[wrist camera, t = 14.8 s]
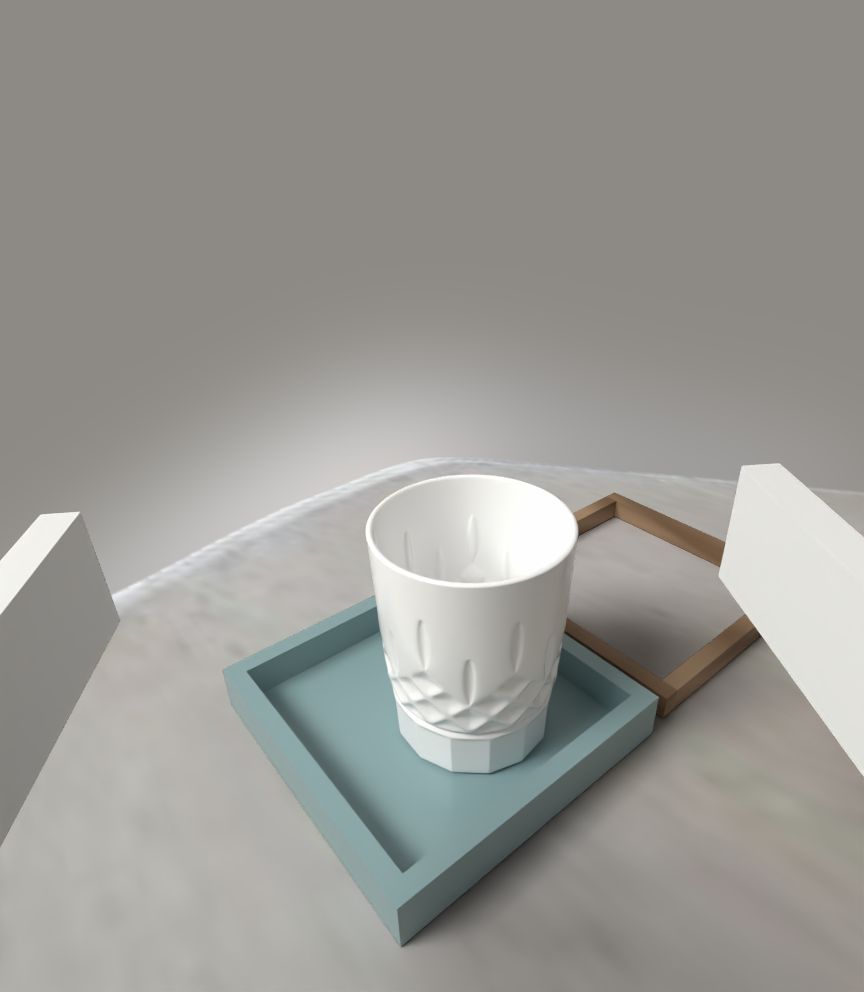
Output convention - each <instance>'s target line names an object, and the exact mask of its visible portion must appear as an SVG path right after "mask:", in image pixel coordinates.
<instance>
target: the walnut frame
mask: <svg viewBox="0 0 864 992" xmlns="http://www.w3.org/2000/svg"><path fill="white" fill-rule="evenodd" d="M573 514H574V516H575V518H576V521H577V524H578V535H580V534H582V533H584V532H586V531H588V530H590V529H591V528H593V527H595V526H597V525H599V524H601V523H603V522H604V521H606V520H608V519H610V518H612V517H614V516H615V517H617V518H620V519H622V520H624V521H626V522H628V523H630V524H632V525H634V526H636V527H638V528H640V529H643V530H645V531H647V532H649V533H651V534H653V535H655V536H657V537H659V538H661V539H663V540H665V541H668V542H670V543H672V544H674V545H676V546H678V547H680V548H682V549H684V550H686V551H688V552H691V553H693V554H695V555H697V556H699V557H701V558H703V559H705V560H707V561H709V562H711V563H714V564H716V565H718V566H720V567H721V562H722V557H723V553H724V548H725V543H726V542H724V541H721V540H719V539H717V538H715V537H712V536H710V535H708V534H706V533H703V532H701V531H699V530H697V529H695V528H692V527H690V526H688V525H686V524H683V523H681V522H679V521H677V520H674V519H672V518H670V517H668V516H666V515H663V514H661V513H659V512H657V511H654V510H652V509H650V508H648V507H645V506H643V505H641V504H639V503H637V502H634V501H632V500H630V499H628V498H625V497H623V496H621V495H619V494H616V493H612V494H610V495H608V496H607V497H605V498H603V499H601V500H599V501H597V502H595V503H593V504H591V505H589V506H587V507H585V508H583V509H581V510H579V511H577V512H575V513H573ZM564 634H566V635H567V636H569V637H570V638H572V639H573V640H575V641H576V642H578V643H579V644H581V645H582V646H584V647H585V648H587V649H588V650H590V651H591V652H593V653H594V654H596V655H597V656H598V657H600V658H601V659H603V660H604V661H606V662H607V663H609V664H610V665H612V666H613V667H615V668H616V669H618V670H619V671H621V672H622V673H624V674H625V675H627V676H628V677H630V678H631V679H633V680H634V681H636V682H637V683H639V684H640V685H642V686H643V687H644V688H646V689H647V690H649V691H650V692H652V693H653V694H655V695H656V696H658V697H659V699H658V704H657V710H656V714H658V715H659V716H661V717H662V718H664V717H665V716H666V715H667V714H668V713H670V712H671V711H672V710H673V709H674V708H676V707H677V706H678V705H679V704H680V703H681V702H683V701H684V700H685V699H686V698H687V697H689V696H690V695H691V694H692V693H693V692H695V691H696V690H697V689H698V688H699V687H700V686H702V685H703V684H704V683H705V682H706V681H708V680H709V679H710V678H711V677H712V676H714V675H715V674H716V673H717V672H718V671H719V670H721V669H722V668H723V667H724V666H725V665H727V664H728V663H729V662H730V661H731V660H733V659H734V658H735V657H736V656H737V655H738V654H740V653H741V652H742V651H743V650H744V649H746V648H747V647H748V646H749V645H750V644H752V643H753V642H754V641H755V640H756V639H757V638H759V637H760V636H761V634H760V633H759V632H758V630H757V629H756V627H755V626H754V625H753V623H752V622H751V621H750V619H749V618H748V616H747V615H746V614H745V615H744V616H742V617H741V618H740V619H739V620H737V621H736V622H735V623H734V624H732V625H731V626H730V627H728V628H727V629H726V630H725V631H723V632H722V633H721V634H720V635H718V636H717V637H716V638H715V639H713V640H712V641H711V642H709V643H708V644H707V645H706V646H704V647H703V648H702V649H701V650H699V651H698V652H697V653H696V654H694V655H693V656H692V657H691V658H689V659H688V660H687V661H685V662H684V663H683V664H682V665H680V666H679V667H678V668H677V669H675V670H674V671H673V672H672V673H670V674H669V675H668V676H666V677H665V678H664V679H663V680H661V679H660V678H658V677H657V676H655V675H654V674H652V673H651V672H649V671H648V670H646V669H644V668H643V667H641V666H640V665H638V664H637V663H635V662H634V661H632V660H631V659H629V658H628V657H626V656H624V655H623V654H621V653H620V652H618V651H617V650H615V649H614V648H612V647H611V646H609V645H608V644H606V643H604V642H603V641H601V640H600V639H598V638H597V637H595V636H594V635H592V634H591V633H589V632H588V631H586V630H584V629H583V628H581V627H580V626H578V625H577V624H575V623H574V622H572V621H571V620H569V619H568V618H567V619H566V626H565V631H564Z"/></svg>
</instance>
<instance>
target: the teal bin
mask: <svg viewBox="0 0 864 992" xmlns="http://www.w3.org/2000/svg"><path fill="white" fill-rule="evenodd" d="M223 674H224V678H225V682H226V686H227V690H228V694H229V698H230V702H231V705H232V706H233V708H234V709H235V711H236V712H237V714H238V715H239V716H240V718H241V719H242V721H243V722H244V724H245V725H246V726H247V728H248V729H249V731H250V732H251V734H252V735H253V736H254V738H255V739H256V741H257V742H258V744H259V745H260V747H261V748H262V749H263V751H264V752H265V754H266V755H267V757H268V758H269V759H270V761H271V762H272V764H273V765H274V767H275V768H276V769H277V771H278V772H279V774H280V775H281V777H282V778H283V779H284V781H285V782H286V784H287V785H288V787H289V788H290V789H291V791H292V792H293V794H294V795H295V797H296V798H297V799H298V801H299V802H300V804H301V805H302V807H303V808H304V809H305V811H306V812H307V814H308V815H309V817H310V818H311V819H312V821H313V822H314V824H315V825H316V827H317V828H318V829H319V831H320V832H321V834H322V835H323V837H324V838H325V839H326V841H327V842H328V844H329V845H330V847H331V848H332V849H333V851H334V852H335V854H336V855H337V857H338V858H339V859H340V861H341V862H342V864H343V865H344V867H345V868H346V869H347V871H348V872H349V874H350V875H351V877H352V878H353V879H354V881H355V882H356V884H357V885H358V887H359V888H360V889H361V891H362V892H363V894H364V895H365V897H366V898H367V899H368V901H369V902H370V904H371V905H372V907H373V908H374V909H375V911H376V912H377V914H378V915H379V917H380V918H381V919H382V921H383V922H384V924H385V925H386V927H387V928H388V930H389V931H390V932H391V934H392V935H393V937H394V938H395V940H396V941H397V942H398V944H399V945H400V947H402V946H403V945H404V944H405V943H406V942H407V941H409V940H410V939H411V938H412V937H413V936H414V935H416V934H417V933H418V932H419V931H420V930H421V929H423V928H424V927H425V926H426V925H427V924H429V923H430V922H431V921H432V920H433V919H434V918H436V917H437V916H438V915H439V914H440V913H441V912H443V911H444V910H445V909H446V908H447V907H449V906H450V905H451V904H452V903H453V902H454V901H456V900H457V899H458V898H459V897H460V896H461V895H463V894H464V893H465V892H466V891H467V890H469V889H470V888H471V887H472V886H473V885H474V884H476V883H477V882H478V881H479V880H480V879H481V878H483V877H484V876H485V875H486V874H487V873H488V872H490V871H491V870H492V869H493V868H494V867H496V866H497V865H498V864H499V863H500V862H501V861H503V860H504V859H505V858H506V857H507V856H508V855H510V854H511V853H512V852H513V851H514V850H516V849H517V848H518V847H519V846H520V845H521V844H523V843H524V842H525V841H526V840H527V839H528V838H530V837H531V836H532V835H533V834H534V833H536V832H537V831H538V830H539V829H540V828H541V827H543V826H544V825H545V824H546V823H547V822H548V821H550V820H551V819H552V818H553V817H554V816H556V815H557V814H558V813H559V812H560V811H561V810H563V809H564V808H565V807H566V806H567V805H568V804H570V803H571V802H572V801H573V800H574V799H575V798H577V797H578V796H579V795H580V794H581V793H583V792H584V791H585V790H586V789H587V788H588V787H590V786H591V785H592V784H593V783H594V782H595V781H597V780H598V779H599V778H600V777H601V776H603V775H604V774H605V773H606V772H607V771H608V770H610V769H611V768H612V767H613V766H614V765H615V764H617V763H618V762H619V761H620V760H621V759H623V758H624V757H625V756H626V755H627V754H628V753H630V752H631V751H632V750H633V749H634V748H635V747H637V746H638V745H639V744H640V743H641V742H642V741H644V740H645V739H646V738H647V737H648V736H650V735H651V734H652V731H653V725H654V720H655V715H656V710H657V704H658V699H659V697H658V696H656V695H655V694H653V693H652V692H650V691H649V690H647V689H646V688H644V687H643V686H642V685H640V684H639V683H637V682H636V681H634V680H633V679H631V678H630V677H628V676H627V675H625V674H624V673H622V672H621V671H619V670H618V669H616V668H615V667H613V666H612V665H610V664H609V663H607V662H606V661H604V660H603V659H601V658H600V657H598V656H597V655H596V654H594V653H593V652H591V651H590V650H588V649H587V648H585V647H584V646H582V645H581V644H579V643H578V642H576V641H575V640H573V639H572V638H570V637H569V636H567V635H566V634H564V635H563V639H562V647H561V655H560V659H559V664H558V670H557V678H556V682H555V684H554V685H553V687H552V692H551V697H550V705H549V711H548V717H547V722H546V727H545V732H544V737H543V739H542V740H541V741H540V742H539V743H538V744H537V745H536V746H535V748H534V749H533V750H532V751H531V752H530V753H529V754H528V755H527V756H526V757H525V758H524V759H523V760H522V761H521V762H518V763H515V764H513V765H510V766H507V767H505V768H502V769H500V770H497V771H494V772H491V773H464V772H451V771H449V770H447V769H444V768H442V767H440V766H438V765H436V764H433V763H431V762H429V761H427V760H425V759H423V758H421V757H419V755H418V754H417V753H416V752H415V750H414V749H413V748H412V747H411V746H410V744H409V743H408V742H407V741H406V740H405V738H404V737H403V736H402V735H401V733H400V729H399V722H398V715H397V708H396V701H395V696H394V692H393V687H392V683H391V681H390V679H389V677H388V671H387V665H386V660H385V655H384V651H383V640H382V636H381V632H380V627H379V621H378V612H377V605H376V598H375V595H374V596H372V597H370V598H368V599H366V600H364V601H362V602H360V603H358V604H356V605H354V606H352V607H350V608H348V609H346V610H344V611H342V612H340V613H337V614H335V615H333V616H331V617H329V618H327V619H325V620H323V621H321V622H319V623H317V624H315V625H313V626H311V627H309V628H307V629H305V630H303V631H301V632H299V633H297V634H295V635H292V636H290V637H288V638H286V639H284V640H282V641H280V642H278V643H276V644H274V645H272V646H270V647H268V648H266V649H264V650H262V651H260V652H258V653H256V654H254V655H252V656H250V657H247V658H245V659H243V660H241V661H239V662H237V663H235V664H233V665H231V666H229V667H227V668H225V669H223Z"/></svg>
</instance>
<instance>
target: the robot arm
mask: <svg viewBox="0 0 864 992" xmlns="http://www.w3.org/2000/svg"><path fill="white" fill-rule="evenodd" d="M719 578H720V579H721V581H722V582H723V583H724V585H725V586H726V587H727V589H728V590H729V592H730V593H731V594H732V596H733V597H734V598H735V600H736V601H737V603H738V604H739V605H740V607H741V608H742V610H743V611H744V612H745V614H746V615H747V616H748V618H749V619H750V621H751V622H752V623H753V625H754V626H755V627H756V629H757V630H758V632H759V633H760V634H761V636H762V637H763V638H764V640H765V641H766V643H767V644H768V645H769V647H770V648H771V650H772V651H773V652H774V654H775V655H776V656H777V658H778V659H779V661H780V662H781V663H782V665H783V666H784V667H785V669H786V670H787V672H788V673H789V674H790V676H791V677H792V678H793V680H794V681H795V683H796V684H797V685H798V687H799V688H800V690H801V691H802V692H803V694H804V695H805V696H806V698H807V699H808V701H809V702H810V703H811V705H812V706H813V707H814V709H815V710H816V712H817V713H818V714H819V716H820V717H821V718H822V720H823V721H824V723H825V724H826V725H827V727H828V728H829V729H830V731H831V732H832V734H833V735H834V736H835V738H836V739H837V741H838V742H839V743H840V745H841V746H842V747H843V749H844V750H845V752H846V753H847V754H848V756H849V757H850V758H851V760H852V761H853V763H854V764H855V765H856V767H857V768H858V769H859V771H860V772H861V774H862V775H863V776H864V537H863V536H861V535H860V534H859V533H858V532H857V531H856V530H855V529H854V528H852V527H851V526H850V525H849V524H848V523H847V522H846V521H844V520H843V519H842V518H841V517H840V516H839V515H838V514H836V513H835V512H834V511H833V510H832V509H831V508H830V507H828V506H827V505H826V504H825V503H824V502H823V501H822V500H820V499H819V498H818V497H817V496H816V495H815V494H814V493H813V492H811V491H810V490H809V489H808V488H807V487H806V486H805V485H803V484H802V483H801V482H800V481H799V480H798V479H797V478H795V477H794V476H793V475H792V474H791V473H790V472H789V471H787V470H786V469H785V468H784V467H783V466H782V465H781V464H779V463H777V464H762V465H748V466H742V468H741V472H740V477H739V482H738V486H737V491H736V496H735V501H734V505H733V510H732V515H731V519H730V524H729V529H728V534H727V538H726V543H725V548H724V553H723V557H722V562H721V567H720V571H719ZM119 622H120V619H119V616H118V613H117V610H116V608H115V605H114V602H113V599H112V597H111V594H110V591H109V588H108V586H107V583H106V580H105V578H104V575H103V572H102V569H101V567H100V564H99V561H98V558H97V556H96V553H95V550H94V547H93V545H92V542H91V539H90V536H89V534H88V531H87V528H86V526H85V523H84V520H83V517H82V515H81V512H71V513H56V514H43V515H40V516H39V517H38V519H36V521H35V522H34V523H33V524H32V525H31V526H30V527H29V529H28V530H27V531H26V532H25V533H24V534H23V535H22V537H21V538H20V539H19V540H18V541H17V542H16V544H15V545H14V546H13V547H12V548H11V549H10V550H9V551H8V553H7V554H6V555H5V556H4V557H3V559H2V560H1V561H0V847H1V845H2V843H3V841H4V839H5V837H6V835H7V833H8V832H9V830H10V828H11V826H12V824H13V822H14V820H15V818H16V816H17V815H18V813H19V811H20V809H21V807H22V805H23V803H24V801H25V800H26V798H27V796H28V794H29V792H30V790H31V788H32V786H33V784H34V783H35V781H36V779H37V777H38V775H39V773H40V771H41V769H42V767H43V766H44V764H45V762H46V760H47V758H48V756H49V754H50V752H51V750H52V749H53V747H54V745H55V743H56V741H57V739H58V737H59V735H60V733H61V732H62V730H63V728H64V726H65V724H66V722H67V720H68V718H69V717H70V715H71V713H72V711H73V709H74V707H75V705H76V703H77V701H78V700H79V698H80V696H81V694H82V692H83V690H84V688H85V686H86V684H87V683H88V681H89V679H90V677H91V675H92V673H93V671H94V669H95V667H96V666H97V664H98V662H99V660H100V658H101V656H102V654H103V652H104V651H105V649H106V647H107V645H108V643H109V641H110V639H111V637H112V635H113V634H114V632H115V630H116V628H117V626H118V624H119Z"/></svg>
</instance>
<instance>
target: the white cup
mask: <svg viewBox="0 0 864 992" xmlns="http://www.w3.org/2000/svg"><path fill="white" fill-rule="evenodd" d="M366 539H367V546H368V552H369V559H370V566H371V573H372V578H373V584H374V591H375V598H376V605H377V612H378V621H379V627H380V632H381V636H382V640H383V651H384V655H385V660H386V665H387V671H388V677H389V679H390V681H391V683H392V687H393V692H394V696H395V701H396V708H397V715H398V722H399V729H400V733H401V735H402V736H403V737H404V738H405V740H406V741H407V742H408V743H409V744H410V746H411V747H412V748H413V749H414V750H415V752H416V753H417V754H418V755H419V757H421V758H423V759H425V760H427V761H429V762H431V763H433V764H436V765H438V766H440V767H442V768H444V769H447V770H449V771H451V772H464V773H491V772H494V771H497V770H500V769H502V768H505V767H507V766H510V765H513V764H515V763H518V762H521V761H522V760H523V759H524V758H525V757H526V756H527V755H528V754H529V753H530V752H531V751H532V750H533V749H534V748H535V746H536V745H537V744H538V743H539V742H540V741H541V740H542V739H543V737H544V732H545V727H546V722H547V717H548V711H549V705H550V697H551V692H552V687H553V685H554V684H555V682H556V678H557V670H558V664H559V659H560V655H561V647H562V639H563V635H564V631H565V626H566V619H567V610H568V603H569V595H570V588H571V581H572V575H573V568H574V561H575V554H576V547H577V540H578V524H577V521H576V518H575V516H574V514H573V513H572V511H571V510H570V509H569V507H568V506H567V505H566V504H565V503H564V502H563V501H561V500H560V499H559V498H558V497H556V496H555V495H553V494H551V493H550V492H548V491H546V490H544V489H542V488H540V487H538V486H535V485H533V484H530V483H527V482H523V481H520V480H516V479H512V478H507V477H501V476H493V475H477V474H467V475H452V476H444V477H438V478H433V479H428V480H424V481H421V482H418V483H415V484H412V485H409V486H407V487H404V488H402V489H400V490H398V491H396V492H394V493H393V494H391V495H390V496H388V497H387V498H385V499H384V500H383V501H382V502H380V503H379V504H378V505H377V506H376V508H375V509H374V510H373V512H372V513H371V515H370V516H369V519H368V521H367V525H366Z"/></svg>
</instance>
